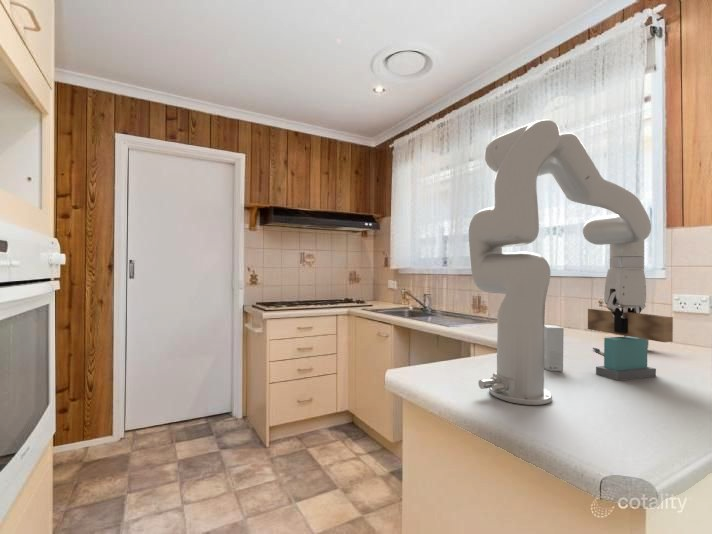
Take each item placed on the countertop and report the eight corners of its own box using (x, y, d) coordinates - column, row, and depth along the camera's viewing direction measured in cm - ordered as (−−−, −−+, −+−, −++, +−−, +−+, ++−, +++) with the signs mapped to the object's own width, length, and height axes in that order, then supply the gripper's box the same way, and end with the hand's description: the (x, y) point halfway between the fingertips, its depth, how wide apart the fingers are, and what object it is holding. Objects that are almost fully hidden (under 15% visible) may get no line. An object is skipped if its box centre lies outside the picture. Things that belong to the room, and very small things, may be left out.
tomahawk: (640, 370, 108) (640, 366, 108) (614, 366, 110) (615, 362, 110) (610, 353, 129) (611, 349, 129) (589, 350, 130) (589, 347, 130)
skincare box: (563, 371, 101) (564, 328, 101) (547, 370, 102) (547, 327, 102) (555, 366, 107) (555, 324, 107) (539, 365, 108) (540, 324, 108)
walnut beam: (587, 329, 108) (587, 308, 108) (595, 328, 109) (595, 308, 109) (663, 342, 89) (663, 317, 89) (672, 341, 90) (672, 317, 90)
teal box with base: (618, 380, 94) (618, 341, 94) (596, 374, 99) (596, 336, 99) (655, 376, 98) (656, 338, 98) (632, 370, 104) (632, 334, 104)
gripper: (633, 264, 105) (633, 329, 105) (591, 263, 100) (590, 331, 100) (662, 264, 98) (662, 333, 98) (618, 263, 93) (617, 336, 93)
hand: (626, 331), depth 99 cm, fingers closed on walnut beam, 3 cm apart
